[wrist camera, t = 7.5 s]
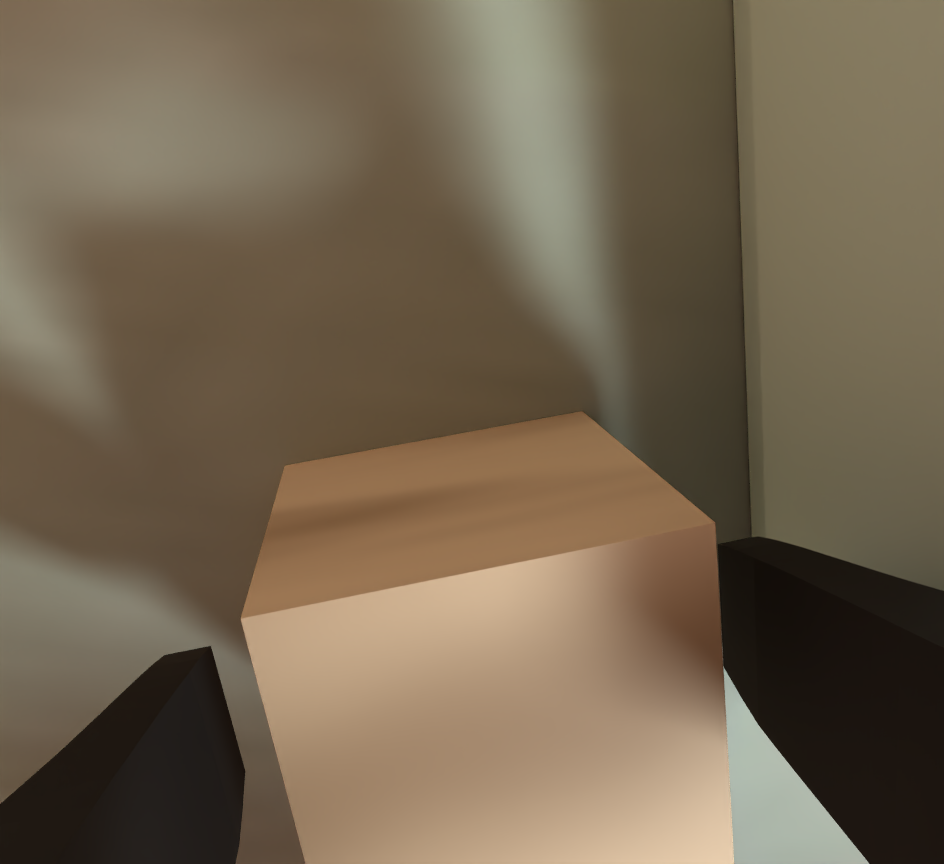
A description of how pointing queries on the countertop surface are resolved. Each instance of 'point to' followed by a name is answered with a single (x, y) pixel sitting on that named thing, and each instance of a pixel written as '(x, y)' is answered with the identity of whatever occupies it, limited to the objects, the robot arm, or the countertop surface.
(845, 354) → the tote
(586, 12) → the countertop surface
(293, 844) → the countertop surface
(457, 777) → the maple cube
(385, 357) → the countertop surface
